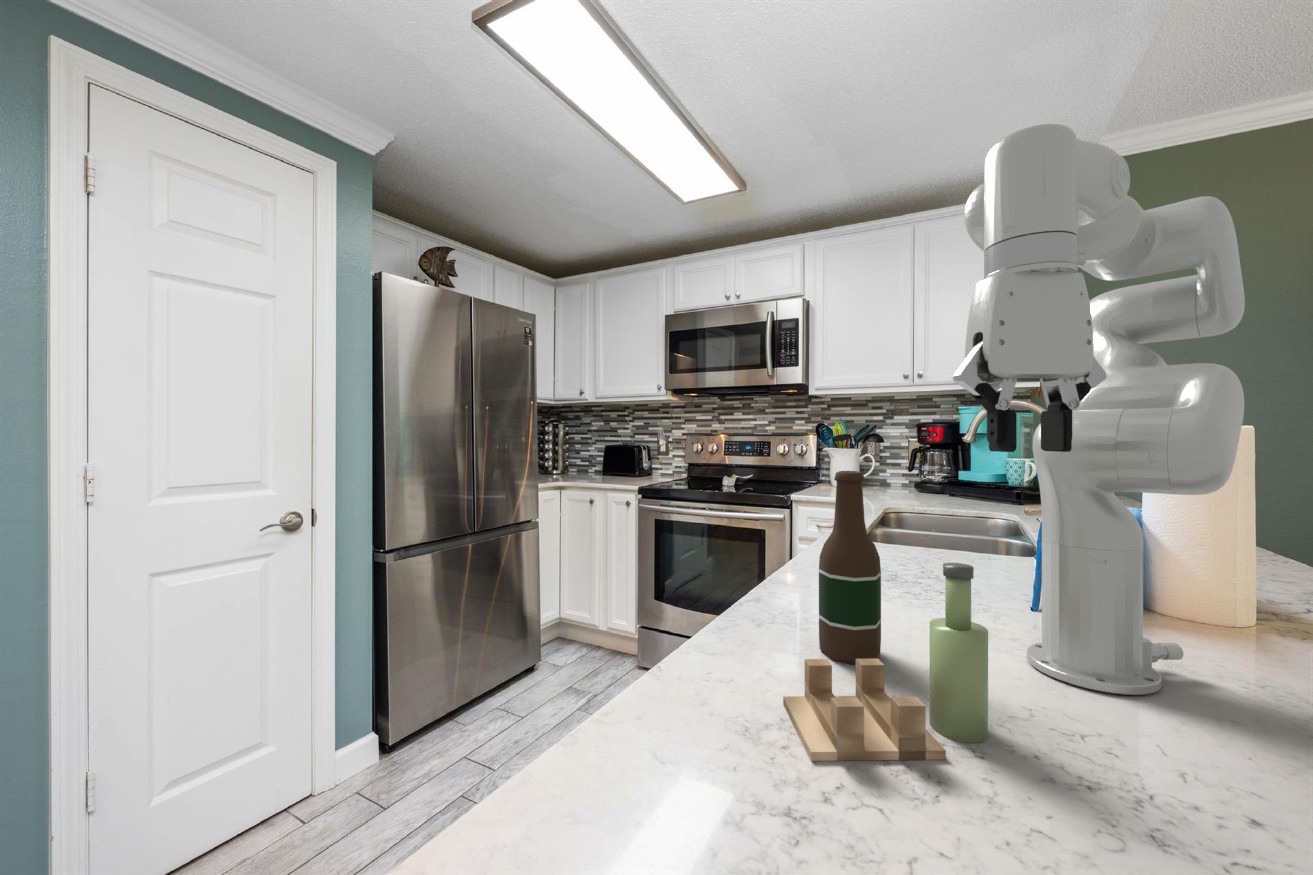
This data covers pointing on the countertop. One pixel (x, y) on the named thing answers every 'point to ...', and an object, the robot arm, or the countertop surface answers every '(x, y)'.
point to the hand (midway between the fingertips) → (1028, 449)
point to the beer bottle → (849, 580)
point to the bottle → (958, 663)
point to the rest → (859, 718)
